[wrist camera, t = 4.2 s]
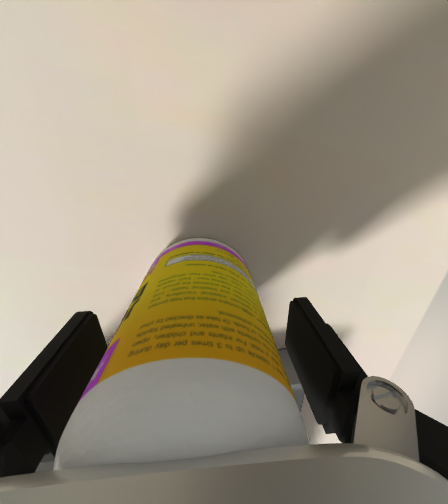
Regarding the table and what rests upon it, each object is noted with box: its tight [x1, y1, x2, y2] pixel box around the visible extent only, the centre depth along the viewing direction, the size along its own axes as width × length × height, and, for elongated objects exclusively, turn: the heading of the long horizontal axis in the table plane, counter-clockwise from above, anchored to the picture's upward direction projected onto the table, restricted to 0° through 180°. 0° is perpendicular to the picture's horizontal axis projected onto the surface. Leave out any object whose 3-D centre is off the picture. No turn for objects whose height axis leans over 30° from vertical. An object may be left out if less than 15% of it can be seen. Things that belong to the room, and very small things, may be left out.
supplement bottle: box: [53, 238, 308, 471], centre depth 8 cm, size 7×7×13 cm
